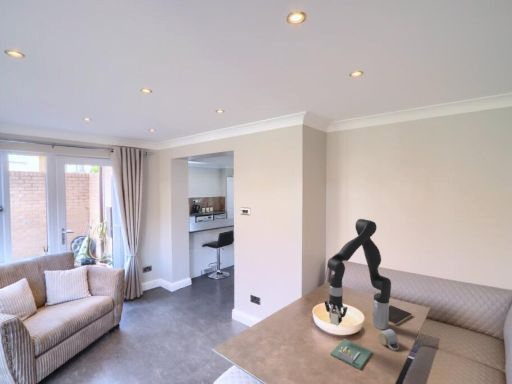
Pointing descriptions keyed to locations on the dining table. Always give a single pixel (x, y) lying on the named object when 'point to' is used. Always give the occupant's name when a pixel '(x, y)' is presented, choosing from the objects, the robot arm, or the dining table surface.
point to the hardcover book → (397, 315)
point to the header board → (351, 353)
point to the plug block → (334, 317)
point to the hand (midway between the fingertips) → (335, 320)
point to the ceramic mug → (388, 338)
